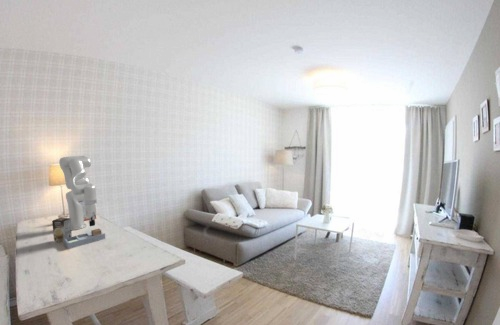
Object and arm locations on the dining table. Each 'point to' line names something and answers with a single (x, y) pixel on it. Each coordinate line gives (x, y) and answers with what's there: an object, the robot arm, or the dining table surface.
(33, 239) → the dining table surface
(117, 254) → the dining table surface
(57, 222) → the coffee box
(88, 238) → the tray
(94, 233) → the block
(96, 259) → the dining table surface
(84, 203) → the white glue bottle
